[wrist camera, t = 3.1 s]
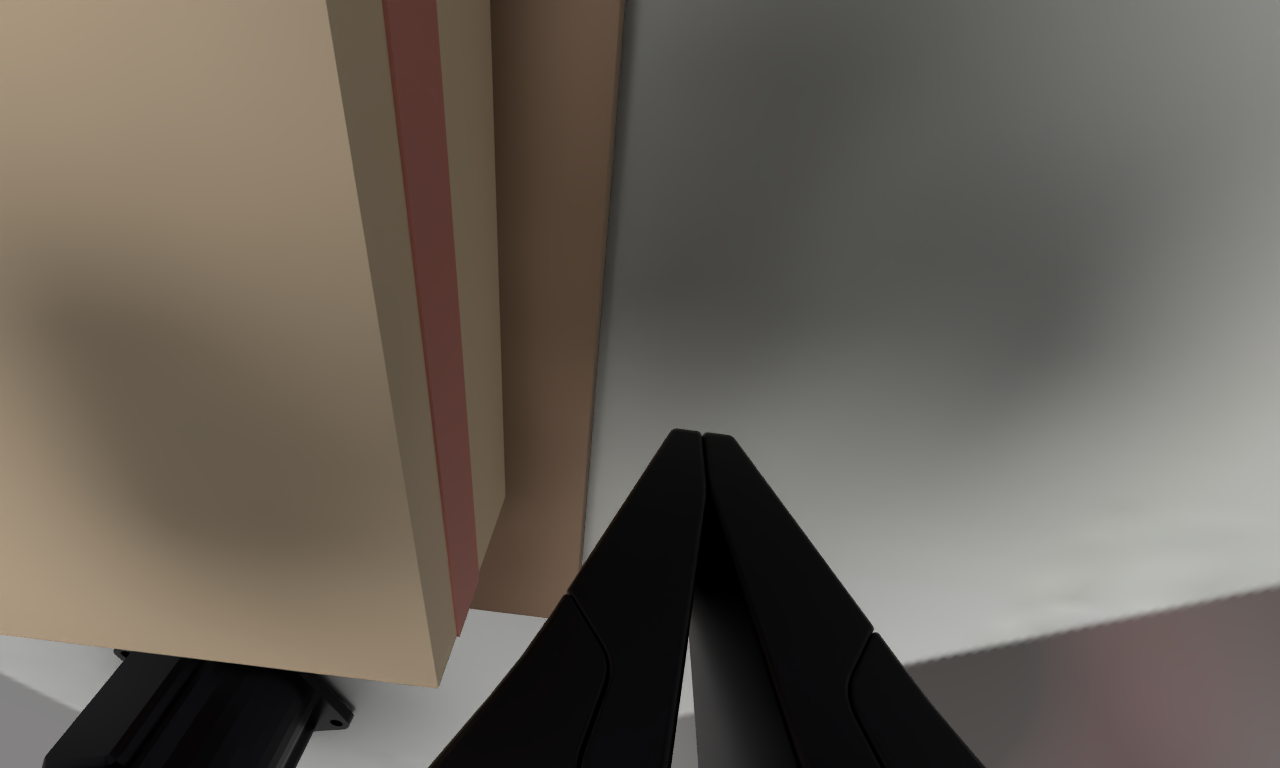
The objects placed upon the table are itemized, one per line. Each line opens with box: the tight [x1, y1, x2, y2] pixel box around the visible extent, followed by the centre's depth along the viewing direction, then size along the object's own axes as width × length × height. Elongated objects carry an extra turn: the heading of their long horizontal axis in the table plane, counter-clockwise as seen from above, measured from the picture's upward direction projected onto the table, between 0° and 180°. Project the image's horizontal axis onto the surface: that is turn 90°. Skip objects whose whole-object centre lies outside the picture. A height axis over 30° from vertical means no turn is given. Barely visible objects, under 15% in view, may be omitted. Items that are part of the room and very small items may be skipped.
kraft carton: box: [0, 0, 505, 688], centre depth 10 cm, size 9×12×5 cm
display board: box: [470, 0, 626, 618], centre depth 11 cm, size 19×22×3 cm
